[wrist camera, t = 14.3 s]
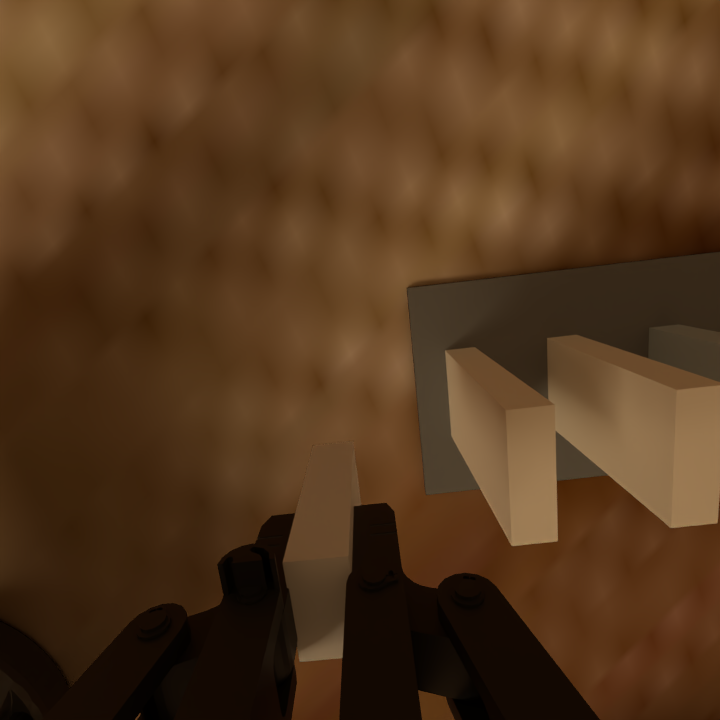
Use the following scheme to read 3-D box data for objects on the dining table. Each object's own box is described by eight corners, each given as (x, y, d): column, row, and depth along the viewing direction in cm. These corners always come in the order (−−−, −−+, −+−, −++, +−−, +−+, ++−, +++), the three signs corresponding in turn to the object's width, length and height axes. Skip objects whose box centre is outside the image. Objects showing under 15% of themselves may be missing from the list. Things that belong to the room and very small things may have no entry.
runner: (425, 491, 26) (426, 494, 26) (406, 287, 24) (407, 288, 24) (938, 435, 26) (946, 438, 26) (975, 222, 23) (986, 221, 23)
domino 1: (451, 436, 25) (512, 546, 16) (445, 350, 24) (505, 409, 14) (479, 433, 25) (557, 541, 16) (474, 347, 24) (554, 404, 14)
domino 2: (549, 424, 25) (671, 528, 15) (546, 338, 24) (676, 390, 14) (577, 421, 25) (717, 523, 15) (576, 334, 24) (726, 384, 14)
